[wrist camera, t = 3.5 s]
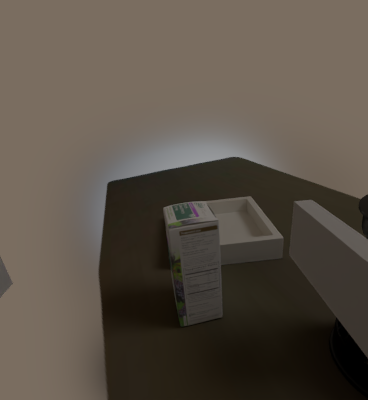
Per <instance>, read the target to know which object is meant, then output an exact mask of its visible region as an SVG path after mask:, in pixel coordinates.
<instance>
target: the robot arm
mask: <svg viewBox="0 0 368 400" xmlns="http://www.w3.org/2000/svg"><path fill="white" fill-rule="evenodd" d="M289 255H290V257H291V258H292V259H293V261H294V262H295V263H296V265H297V266H298V267H299V268H300V270H301V271H302V272H303V274H304V275H305V276H306V278H307V279H308V280H309V282H310V283H311V284H312V286H313V287H314V288H315V289H316V291H317V292H318V293H319V295H320V296H321V297H322V299H323V300H324V301H325V303H326V304H327V305H328V307H329V308H330V309H331V311H332V312H333V313H334V314H335V316H336V317H337V318H338V320H339V321H340V322H341V324H342V325H343V326H344V328H345V329H346V330H347V332H348V333H349V334H350V336H351V337H352V338H353V339H354V341H355V342H356V343H357V345H358V346H359V347H360V349H361V350H362V351H363V353H364V354H365V355H366V357H367V358H368V239H366V238H365V237H364V236H362V235H361V234H359V233H358V232H357V231H355V230H354V229H352V228H351V227H350V226H348V225H347V224H345V223H344V222H342V221H341V220H340V219H338V218H337V217H335V216H334V215H333V214H331V213H330V212H328V211H327V210H325V209H324V208H323V207H321V206H320V205H318V204H317V203H316V202H314V201H313V200H304V201H295V202H294V208H293V218H292V229H291V239H290V250H289ZM12 284H13V283H12V281H11V279H10V277H9V274H8V273H7V270H6V268H5V266H4V264H3V262H2V259H1V257H0V297H1V296H2V295H3V294H4V293H5V292H6V290H7V289H8V288H9V287H10V286H11V285H12Z"/></svg>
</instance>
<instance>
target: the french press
mask: <svg viewBox="0 0 368 400" xmlns="http://www.w3.org/2000/svg"><path fill="white" fill-rule="evenodd" d="M359 210H360V212H361V213H362V214H363V220H362V230H363V233H364V234H365V236H366V237H367V238H366V239H368V195H366V196H364V197H363V198H362V199H361V200H360V202H359ZM347 334H348V332H347V330H346V329H345V328H344V326H343V325H342V324H341V322H340V321H339V320H338V318H337V317H336V322H335V327H334V328H333V330H332V332H331V334H330V340H329V345H330V351H331V354H332V357H333V360H334V362H335V363H336V365H337V367H338V369H339V370H340V371H341V373H342V374H343V375H344V377H345V378H346V379H347V380H348V381H349V382H350V383H351V384H352V385H353V386H354V387H355V388H356V389H357V390H358V391H360V392H361V393H362V394H363V395H364V396H366V397H367V398H368V365H366V364H365V360H366V355H365V354H364V353H363V351H362V350H361V349H360V347H359V346H358V345H357V343H356V342H355V341H354V339H353V338H352V337H351V336H350V334H349V335H348V339H347V343H345V341H344V339H345V337H346V336H347Z"/></svg>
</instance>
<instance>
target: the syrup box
mask: <svg viewBox="0 0 368 400" xmlns="http://www.w3.org/2000/svg"><path fill="white" fill-rule="evenodd" d="M163 211H164V218H165V226H166V235H167V244H168V253H169V261H170V268H171V274H172V281H173V288H174V295H175V301H176V307H177V312H178V317H179V322H180V326H181V327H184V326H189V325H193V324H197V323H201V322H205V321H209V320H213V319H217V318H221V317H223V308H222V283H221V256H220V234H219V220H218V218H217V217H216V216H215V214H214V212H213V211H212V209H211V208H210V206H209V205H208V203H207V202H205V201H198V202H187V203H180V204H175V205H171V206H167V207H164V208H163Z"/></svg>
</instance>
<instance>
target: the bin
mask: <svg viewBox="0 0 368 400" xmlns="http://www.w3.org/2000/svg"><path fill="white" fill-rule="evenodd" d="M205 202H207V203H208V205H209V206H210V208H211V209H212V211H213V212H214V214H215V216H216V217H217V218H218V220H219V234H220V256H221V265H226V264H235V263H244V262H253V261H262V260H271V259H280V258H282V254H283V240H284V238H283V237H282V235H281V234H280V233H279V232H278V230H277V229H276V228H275V226H274V225H273V224H272V223H271V221H270V220H269V219H268V218H267V216H266V215H265V214H264V213H263V211H262V210H261V209H260V208H259V206H258V205H257V204H256V202H255V201H254V200H253V199H252V197H251V196H249V197H240V198H231V199H223V200H214V201H205Z"/></svg>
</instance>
